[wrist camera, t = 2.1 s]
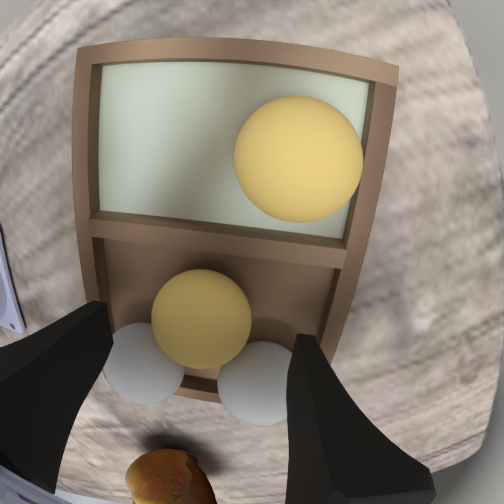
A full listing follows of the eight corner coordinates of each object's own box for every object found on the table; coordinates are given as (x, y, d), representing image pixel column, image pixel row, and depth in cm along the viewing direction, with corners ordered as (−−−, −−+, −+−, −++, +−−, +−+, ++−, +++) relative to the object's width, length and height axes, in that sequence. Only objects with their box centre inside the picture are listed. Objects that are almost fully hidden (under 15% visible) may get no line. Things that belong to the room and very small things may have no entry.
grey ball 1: (126, 357, 17) (99, 408, 13) (116, 300, 15) (80, 351, 12) (193, 371, 17) (176, 428, 13) (192, 313, 15) (169, 373, 11)
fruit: (171, 418, 20) (141, 516, 13) (252, 465, 22) (243, 551, 15) (120, 441, 22) (92, 516, 15) (193, 481, 25) (178, 551, 17)
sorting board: (114, 361, 18) (103, 380, 16) (96, 51, 11) (74, 47, 9) (311, 393, 18) (312, 415, 16) (386, 70, 10) (401, 65, 9)
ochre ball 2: (236, 195, 12) (218, 233, 9) (247, 92, 11) (232, 83, 7) (338, 209, 12) (362, 252, 9) (355, 108, 11) (390, 108, 7)
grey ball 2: (222, 376, 17) (210, 434, 13) (226, 318, 15) (211, 380, 11) (295, 384, 17) (296, 444, 13) (310, 328, 15) (317, 392, 11)
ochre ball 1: (169, 321, 15) (142, 378, 12) (167, 246, 14) (131, 296, 10) (250, 333, 15) (242, 396, 12) (259, 258, 14) (252, 315, 10)
